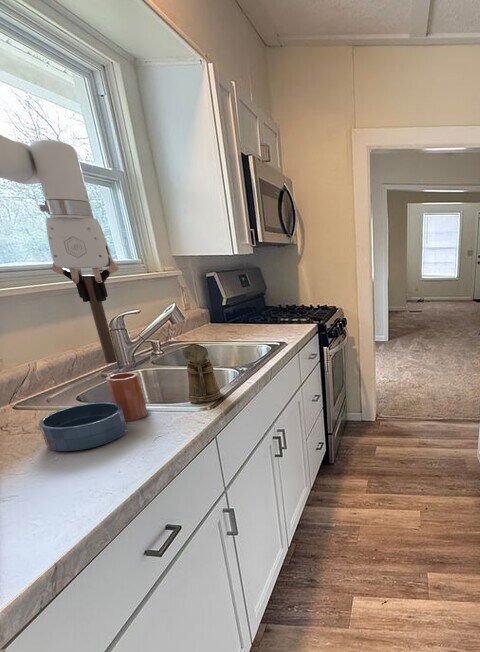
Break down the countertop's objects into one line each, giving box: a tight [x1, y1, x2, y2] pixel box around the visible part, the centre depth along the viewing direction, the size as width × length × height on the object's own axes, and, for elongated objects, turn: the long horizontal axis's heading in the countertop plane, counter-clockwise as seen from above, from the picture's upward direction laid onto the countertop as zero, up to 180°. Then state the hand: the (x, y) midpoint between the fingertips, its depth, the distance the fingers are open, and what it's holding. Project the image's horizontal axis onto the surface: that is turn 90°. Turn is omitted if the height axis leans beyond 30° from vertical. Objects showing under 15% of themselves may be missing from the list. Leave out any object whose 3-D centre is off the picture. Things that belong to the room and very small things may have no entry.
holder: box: [105, 371, 148, 422], centre depth 103 cm, size 7×7×11 cm
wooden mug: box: [182, 343, 222, 404], centre depth 112 cm, size 9×14×18 cm, turn 23°
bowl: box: [38, 401, 128, 452], centre depth 92 cm, size 15×15×6 cm
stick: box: [82, 274, 118, 364], centre depth 94 cm, size 2×2×20 cm
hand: (95, 300), depth 92 cm, fingers closed on stick, 2 cm apart
